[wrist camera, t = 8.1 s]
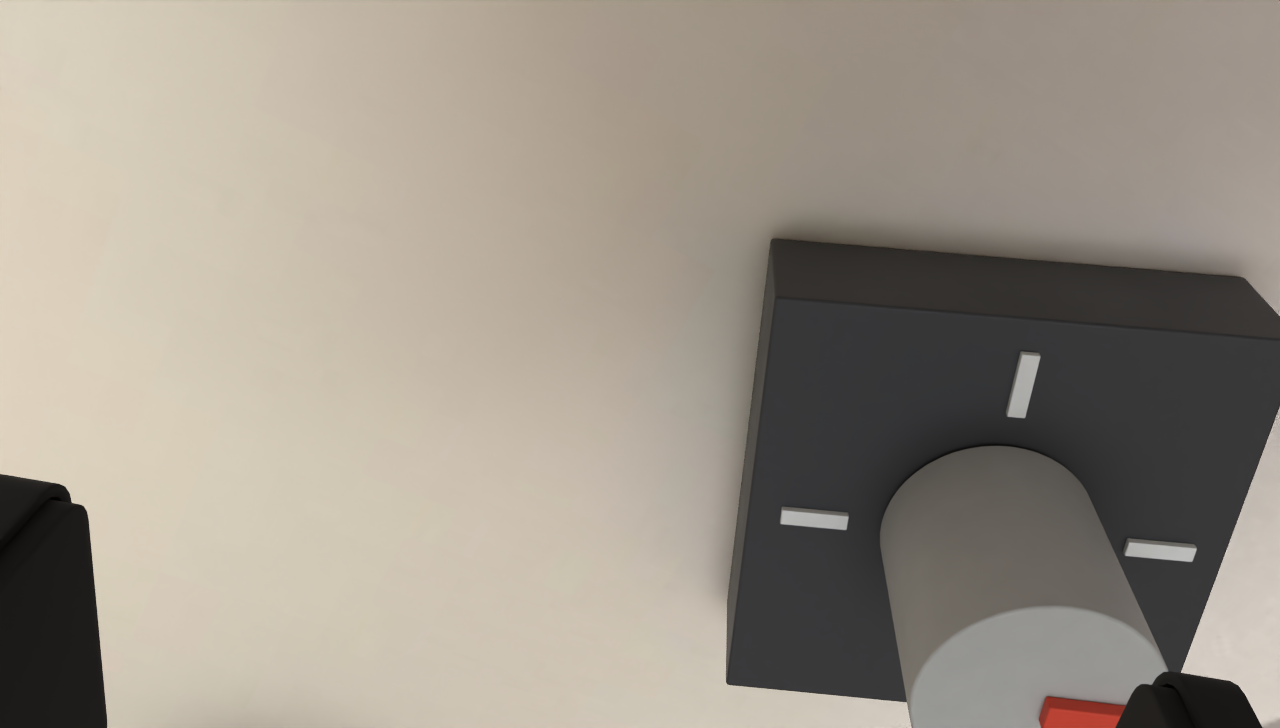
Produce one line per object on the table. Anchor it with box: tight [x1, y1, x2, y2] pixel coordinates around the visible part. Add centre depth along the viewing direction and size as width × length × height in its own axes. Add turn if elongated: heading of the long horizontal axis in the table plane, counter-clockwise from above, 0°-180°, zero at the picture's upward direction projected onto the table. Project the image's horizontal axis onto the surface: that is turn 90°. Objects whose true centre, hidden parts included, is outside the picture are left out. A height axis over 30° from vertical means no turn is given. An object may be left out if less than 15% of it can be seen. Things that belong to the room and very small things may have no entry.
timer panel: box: [726, 239, 1280, 702], centre depth 26 cm, size 10×10×3 cm
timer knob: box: [880, 446, 1168, 728], centre depth 22 cm, size 4×4×5 cm
